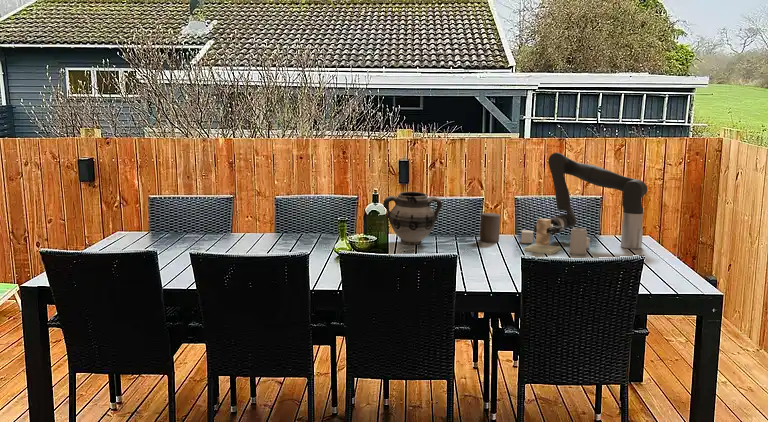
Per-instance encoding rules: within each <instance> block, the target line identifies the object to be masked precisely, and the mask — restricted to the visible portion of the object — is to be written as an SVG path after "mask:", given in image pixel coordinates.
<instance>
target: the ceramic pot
mask: <svg viewBox="0 0 768 422" xmlns="http://www.w3.org/2000/svg"><path fill="white" fill-rule="evenodd" d="M390 202H394V203H395V205H394V206H393V207H392V209H391V210H390V207H389V204H390ZM433 202H434V203H436V207H435V210H433V208H432V207H431V204H432V203H433ZM382 206H383V208H384V207H385V208H386V209H387V211H388V218H389V220H388V222H389V225H390V226H391V228H392V231H393V232H394V233H395V234H396V236H397V237H398V238H399V239H400V242H401V244H403V245H408V246H409V245H413V246H414V245H415V246H416V245H420V244H422V241H423V240H424V239H426V238H427V237H428V236H429V235H430V233H431V232H432V230H433V229H434V227H435V224H436V221H437V220H438V221H439V218H438V215H439V213H440V211H441V209H442V207H443V201H441V199H440V198H438V197H436V196H429V197H428V195H427V194H426V193H425V192H421V191H414V190H413V191H402V192H399V193H398V194H397V196H394V195H389V196H387V197H385V198H384V200H383V204H382Z"/></svg>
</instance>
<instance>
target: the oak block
mask: <svg viewBox="0 0 768 422" xmlns="http://www.w3.org/2000/svg"><path fill="white" fill-rule="evenodd" d="M536 223H537V232H535V233H536V235H535V238H536V239H535V243H536V244H537V245H544V246H546V245H551V244H550V243H551V234H550V233H546V230H547V229H548V228H550V227H551V218H543V217H540V218H537V220H536Z"/></svg>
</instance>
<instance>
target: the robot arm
mask: <svg viewBox="0 0 768 422" xmlns="http://www.w3.org/2000/svg"><path fill="white" fill-rule="evenodd" d="M547 159H548V161H547V163H548V166H549V171H550V174H551V178H552V182H553V189H554V195H555V203H556V209H557V210H558V211H561V212H564V211H565V212H566V213H565V214H560V215H556V216H555V217H552V218H550V219H551V227H550V228H548V229H547V230H546V233H550V235H555V234H558V233H563V230H564V229H568V228H575V226H576V224H577V218H576V215H575V214H574V211H573V208H572V205H571V198H570V192H569V191H570V190H569V188H568V185H567V182H566V177H565V175H569V176H573V177H575V178H578V179H579V180H581V181H584V182H585V183H588V184H592V185H593V186H597V187H601V188H606V189H611V190H612V189H614V190H617V191H621V192H622V198H621V200H622V201H621V203H622V206H621V207H622V209H623V210H622V212H623V213H622V223H621V224H622V225H621V236H620V237H621V238H620V247H621V248H624V249H632V250H640V249H641V248H642V245H643V232H644V228H643V221H644V220H643V218H644V207H643V205H642V201H643V199H642V198H643V197H644V196H646V195H647V193H648V186H647V184H646V183H645V182H644V181H643V180H641V179H636V178H630V177H627V176H623V175H622V174H621V175H620V174H619V173H616V172H614V171H611V170H608V169H606V168H604V167H600V166H597V165H593V164H588V163H581V162H577V161H576V160H572V159H571V158H568V157H567V156H566V155H564V154H562V153H561V152H553V153H551V154H550V155H549V157H548V158H547ZM533 231H534V232H535V233H536V232H537V222H536V223H534V226H533Z"/></svg>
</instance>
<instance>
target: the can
mask: <svg viewBox="0 0 768 422" xmlns="http://www.w3.org/2000/svg"><path fill="white" fill-rule="evenodd" d="M571 228H572V230H571V231H570V241H569V253H570V254H571V255H575V256H584V255H585V254H586V253H587V250H586V246H587V237H588V231H587V229H586V228H583V227H571Z"/></svg>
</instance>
